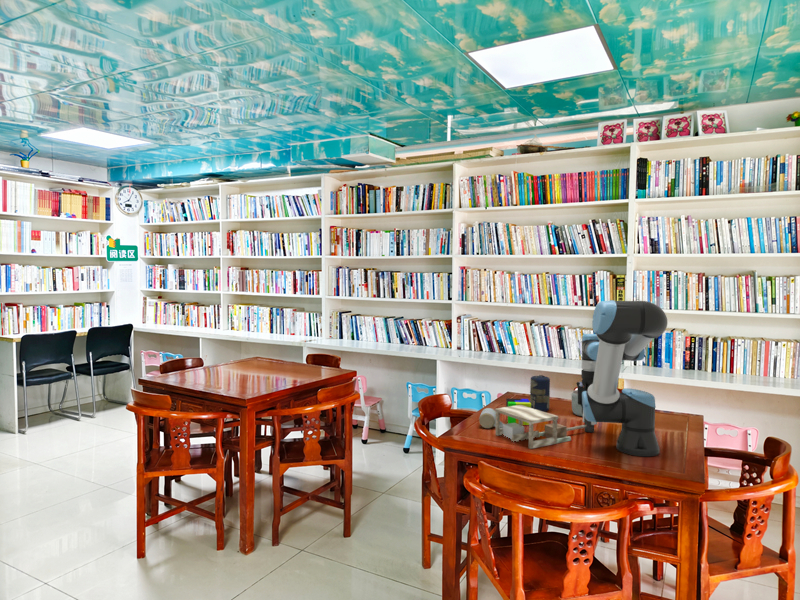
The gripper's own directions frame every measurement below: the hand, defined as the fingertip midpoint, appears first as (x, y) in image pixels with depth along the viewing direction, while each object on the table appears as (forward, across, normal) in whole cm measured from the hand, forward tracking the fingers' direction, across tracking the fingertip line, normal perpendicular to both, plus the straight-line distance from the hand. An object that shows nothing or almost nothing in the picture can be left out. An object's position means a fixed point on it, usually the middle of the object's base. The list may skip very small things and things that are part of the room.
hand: (589, 422), depth 231 cm
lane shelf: (+4, +5, +28) cm, 29 cm away
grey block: (+4, +10, +34) cm, 36 cm away
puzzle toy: (+4, +26, +17) cm, 32 cm away
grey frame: (+4, 0, +11) cm, 11 cm away
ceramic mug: (+4, +27, +33) cm, 42 cm away
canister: (+4, +38, -8) cm, 39 cm away
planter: (+4, +21, -21) cm, 30 cm away
